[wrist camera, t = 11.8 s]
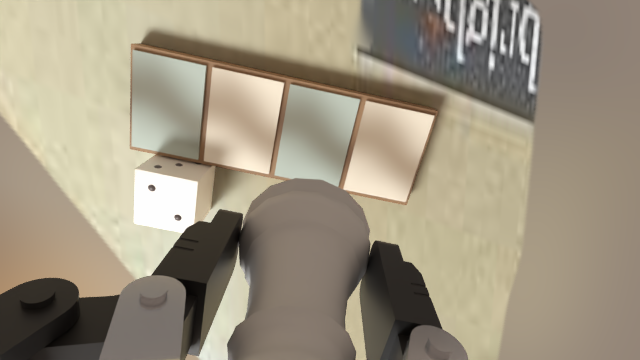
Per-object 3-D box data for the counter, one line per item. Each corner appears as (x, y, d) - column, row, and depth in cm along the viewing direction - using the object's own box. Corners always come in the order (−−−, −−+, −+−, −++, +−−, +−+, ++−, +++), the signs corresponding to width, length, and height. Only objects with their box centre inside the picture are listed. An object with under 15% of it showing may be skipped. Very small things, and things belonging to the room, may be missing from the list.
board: (403, 198, 27) (407, 206, 26) (138, 144, 26) (128, 149, 25) (433, 107, 25) (439, 112, 23) (140, 43, 23) (129, 43, 22)
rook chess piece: (292, 146, 12) (227, 334, 4) (394, 220, 13) (485, 479, 5) (221, 239, 13) (81, 502, 6) (318, 299, 14) (307, 593, 7)
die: (211, 208, 28) (192, 235, 24) (160, 198, 28) (133, 224, 24) (216, 160, 26) (197, 180, 23) (162, 148, 26) (134, 168, 22)
